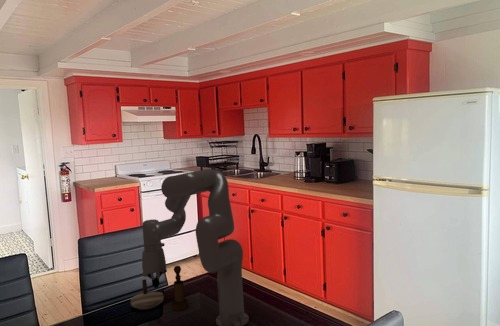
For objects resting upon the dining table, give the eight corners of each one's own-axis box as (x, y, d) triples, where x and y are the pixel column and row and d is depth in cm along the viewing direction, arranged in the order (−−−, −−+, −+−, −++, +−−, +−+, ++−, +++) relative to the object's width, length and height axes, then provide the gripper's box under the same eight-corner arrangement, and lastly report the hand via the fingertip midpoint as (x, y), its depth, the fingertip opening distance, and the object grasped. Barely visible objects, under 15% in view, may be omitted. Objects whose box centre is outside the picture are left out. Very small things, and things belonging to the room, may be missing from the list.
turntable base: (161, 306, 165) (161, 303, 165) (137, 312, 161) (137, 309, 161) (157, 298, 174) (157, 295, 174) (134, 303, 170) (134, 300, 170)
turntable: (166, 303, 164) (165, 286, 164) (132, 311, 159) (131, 293, 158) (160, 292, 177) (159, 276, 176) (129, 298, 171) (127, 282, 171)
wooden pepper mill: (184, 311, 160) (181, 268, 158) (169, 310, 161) (166, 268, 160) (190, 304, 166) (187, 263, 165) (176, 303, 167) (173, 263, 166)
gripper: (167, 242, 179) (170, 281, 181) (134, 248, 174) (138, 287, 175) (171, 246, 173) (174, 286, 174) (136, 252, 167) (140, 293, 168)
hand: (156, 287), depth 174 cm, fingers closed
